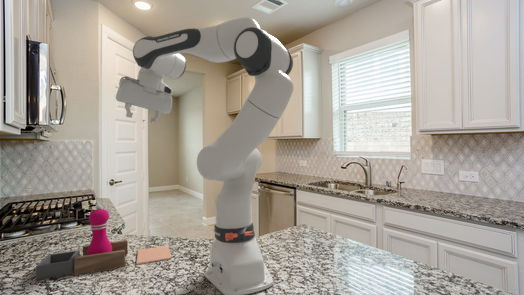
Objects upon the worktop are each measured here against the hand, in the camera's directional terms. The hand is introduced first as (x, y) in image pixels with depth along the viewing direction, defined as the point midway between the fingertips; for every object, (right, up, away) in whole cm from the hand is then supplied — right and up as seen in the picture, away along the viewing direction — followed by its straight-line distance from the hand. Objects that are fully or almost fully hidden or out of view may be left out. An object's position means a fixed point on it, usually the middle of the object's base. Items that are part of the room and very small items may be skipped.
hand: (141, 120), depth 103 cm
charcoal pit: (-21, -50, -14) cm, 56 cm away
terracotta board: (+6, -49, -3) cm, 50 cm away
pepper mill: (-10, -50, -9) cm, 52 cm away
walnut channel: (-9, -50, -9) cm, 51 cm away
